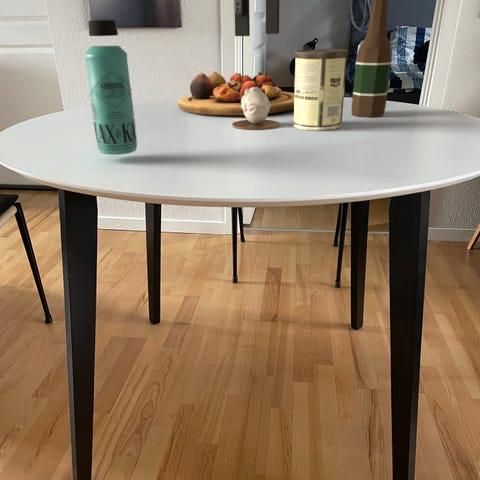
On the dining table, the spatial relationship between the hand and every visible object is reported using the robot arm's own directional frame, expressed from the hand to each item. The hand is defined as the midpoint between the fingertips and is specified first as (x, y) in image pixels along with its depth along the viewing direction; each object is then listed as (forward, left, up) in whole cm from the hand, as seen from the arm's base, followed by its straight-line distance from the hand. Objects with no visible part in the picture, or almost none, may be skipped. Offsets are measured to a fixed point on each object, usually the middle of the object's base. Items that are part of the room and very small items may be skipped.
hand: (258, 35), depth 98 cm
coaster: (0, 0, -17) cm, 17 cm away
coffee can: (-12, -4, -17) cm, 21 cm away
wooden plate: (+15, -21, -17) cm, 31 cm away
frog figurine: (0, 0, -17) cm, 17 cm away
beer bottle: (-18, -22, -17) cm, 33 cm away
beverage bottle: (+8, +36, -17) cm, 41 cm away
